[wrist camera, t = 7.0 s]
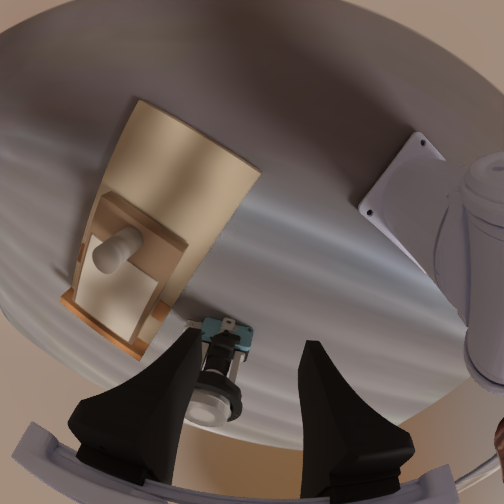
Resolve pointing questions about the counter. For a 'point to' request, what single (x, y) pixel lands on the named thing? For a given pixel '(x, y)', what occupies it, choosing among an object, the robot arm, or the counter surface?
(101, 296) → the carriage
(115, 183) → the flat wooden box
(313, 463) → the robot arm
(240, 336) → the push button
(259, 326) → the counter surface
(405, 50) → the counter surface
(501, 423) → the pottery
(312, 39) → the counter surface
